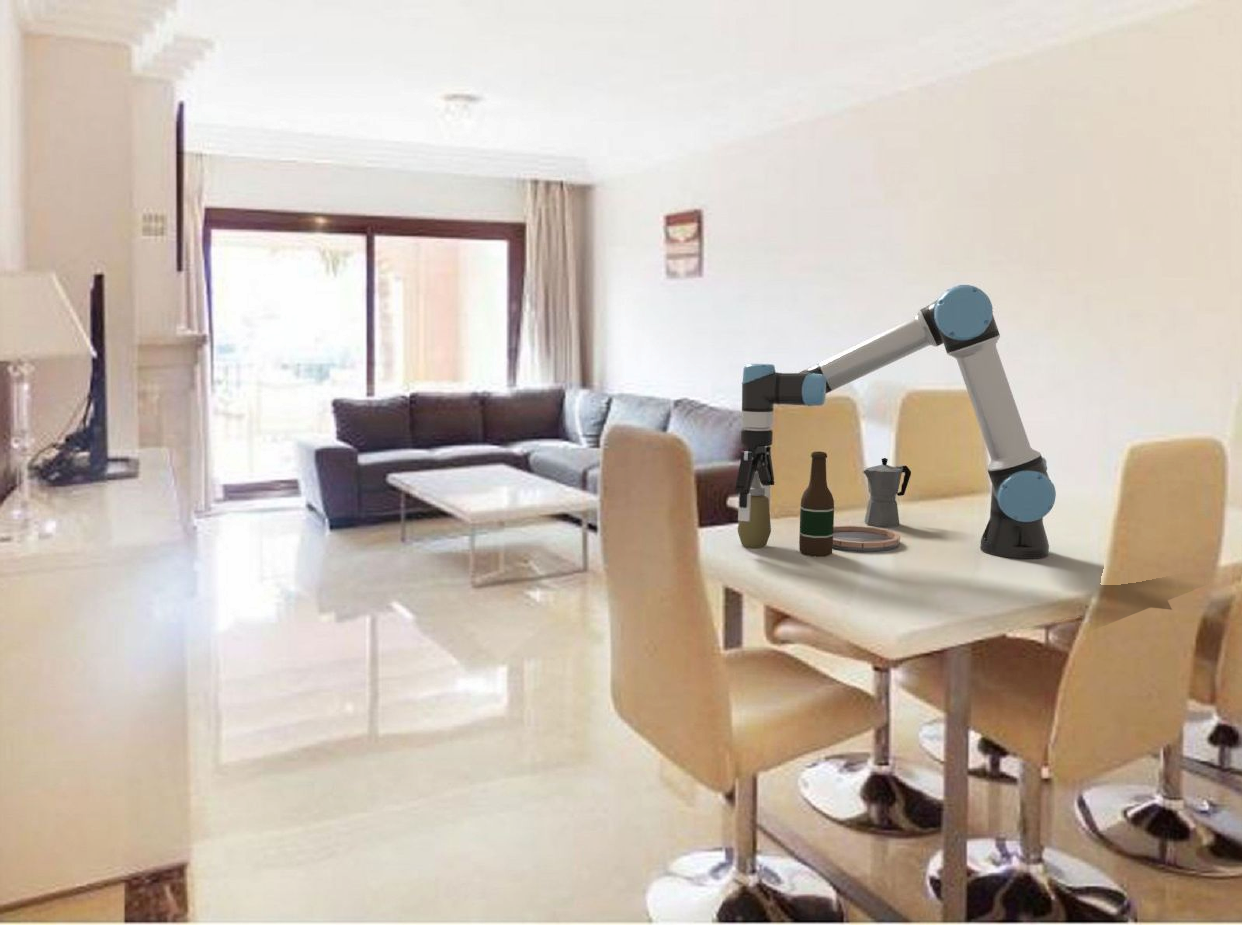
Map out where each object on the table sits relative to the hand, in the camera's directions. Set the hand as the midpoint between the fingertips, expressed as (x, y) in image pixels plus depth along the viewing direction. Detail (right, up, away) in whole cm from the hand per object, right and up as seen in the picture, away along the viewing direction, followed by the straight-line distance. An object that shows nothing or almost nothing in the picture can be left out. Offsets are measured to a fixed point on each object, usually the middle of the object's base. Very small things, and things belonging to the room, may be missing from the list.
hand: (754, 516), depth 235 cm
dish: (+26, -7, +5) cm, 28 cm away
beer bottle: (+14, -9, -6) cm, 17 cm away
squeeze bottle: (0, -8, +1) cm, 8 cm away
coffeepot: (+39, -4, +28) cm, 49 cm away
